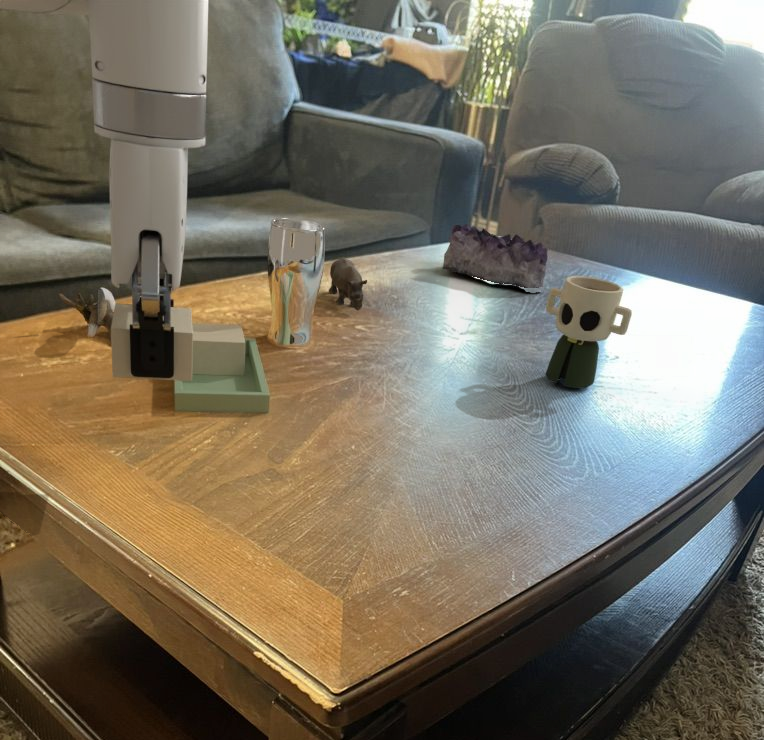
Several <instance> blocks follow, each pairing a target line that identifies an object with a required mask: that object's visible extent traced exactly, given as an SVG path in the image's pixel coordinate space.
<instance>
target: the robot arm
mask: <svg viewBox="0 0 764 740" xmlns="http://www.w3.org/2000/svg"><path fill="white" fill-rule="evenodd" d="M0 10H8V11H11V10H12V11H22V12H30V13H33V14H41V15H52V16H53V15H55V16H88V20H89V40H90V41H89V42H90V58H91V76H92V77H91V78H92V79H91V84H92V105H93V106H92V107H93V108H92V109H93V124H94V125H93V128H94V129H93V130H94V133H95V134H97V135H98V136H100V137H103V138H107V139H109V140H110V146H109V172H108V173H109V180H108V181H109V182H108V183H109V184H108V185H109V221H110V222H109V223H110V224H109V225H110V269H111V270H110V272H111V273H110V277H111V278H110V280H111V281H110V282H111V284H112V285H113V286H114V287H116V288H117V289H121V287H122V285H129V284H130V281H131V304H132V324H130V358H131V374H132V375H133V376H135V377H151V378H172V377H173V375H174V327H171V307H175V306H174V304H175V303H174V302H175V299H173V298H172V297H171V295H172V292H175V291H177V290H178V289H179V288H180V287H181V278H182V271H183V262H184V253H185V245H186V244H185V243H186V229H187V207H188V172H189V171H188V168H189V167H188V166H189V165H188V164H189V161H188V160H189V149H197V148H202V147H205V146H206V126H207V125H206V123H207V122H206V121H207V76H208V75H207V74H208V73H207V72H208V40H209V38H208V36H209V0H0ZM163 316H164V321H163ZM163 325H164V326H163Z"/></svg>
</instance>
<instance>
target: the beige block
mask: <svg viewBox="0 0 764 740" xmlns="http://www.w3.org/2000/svg"><path fill="white" fill-rule="evenodd" d="M192 329H193V353H192V374H198V375H233V376H244V371H245V339H244V338H245V336H244V335H245V334H244V331H243V327H242V325H241V324H226V323H202V322H201V323H200V322H192Z"/></svg>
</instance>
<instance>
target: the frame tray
mask: <svg viewBox="0 0 764 740" xmlns="http://www.w3.org/2000/svg"><path fill="white" fill-rule="evenodd" d="M244 339H245V371H244V376H233V375H198V374H192V381H182V380H173V389H174V390H173V392H174V393H173V394H174V395H173V396H174V399H173V400H174V412H176V413H178V412H179V413H180V412H182V413H229V414H230V413H233V414H234V413H237V414H238V413H239V414H240V413H241V414H270V404H271V403H270V402H271V394H270V390H269V385H268V382H267V380H266V373H265V371H264V367H263V363H262V359H261V356H260V355H261V354H260V353H259V348H258V345H257V340H256V338H255V337H244Z"/></svg>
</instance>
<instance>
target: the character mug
mask: <svg viewBox="0 0 764 740" xmlns="http://www.w3.org/2000/svg"><path fill="white" fill-rule="evenodd" d="M623 293H624V288H623V287H622V286H621V285H619V284H618V283H615V282H612V281H610V280H607V279H604V278H598V277H594V276H585V275H571V276H568V277H567V278H565V281H564V284H563V288H562V289H561V288H557V287H551V288H550V290H549V292H548V295H547V300H546V305H545V312H546V313H548V314H549V315H553V316H555V327H556V330H557V331H558V332H559V333H560V334H562V335H561V336H560V337H559V339H558V341H557V343H556V345H555V348H554V350H553V353H552V355H551V357H550V359H549V360H550V361H549V363H548V366H547V368H546V372H545V376H546V378H547V379H548V380H550V381H551V382H553V383H554V384H558V382H559V380H558V379H560V378H561V379H560V380H563V381H564V382H563V386H564V387H566V388H572V389H586V388H589V387H591V386H592V385H593V384H594V382H595V379H596V374H597V368H598V362H599V361H598V359H599V352H600V347H599V346H600V345H599V342H602V341H605V340H607V339H608V338H609V337H610V336H611V334H612V333H613V334H616V335H620V336H624V335H626V333H627V332H628V329H629V325H630V322H631V319H632V311H633V310H632V309H630V308H628V307H626V306H622V305H620V304H621V301H622V297H623ZM556 297H557V298H560V300H559V304H558V307H556V306H554V305H555V301H556ZM617 315H621V316H622V317H621V321H620V325H617V324H615V322H616V318H617Z"/></svg>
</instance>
